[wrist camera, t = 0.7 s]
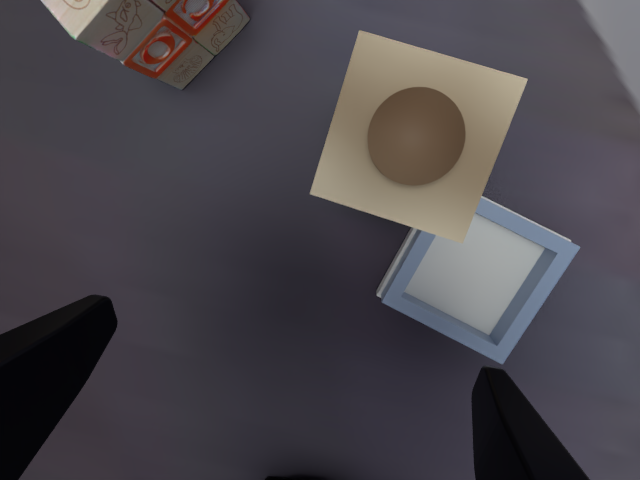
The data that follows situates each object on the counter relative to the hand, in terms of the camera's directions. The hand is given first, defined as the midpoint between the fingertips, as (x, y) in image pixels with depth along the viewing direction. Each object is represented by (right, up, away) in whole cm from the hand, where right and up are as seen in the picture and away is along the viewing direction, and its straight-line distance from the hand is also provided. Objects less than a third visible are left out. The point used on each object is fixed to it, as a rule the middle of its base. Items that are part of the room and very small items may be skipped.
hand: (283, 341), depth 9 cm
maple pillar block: (+5, +7, +14) cm, 17 cm away
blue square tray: (+10, +1, +14) cm, 17 cm away
